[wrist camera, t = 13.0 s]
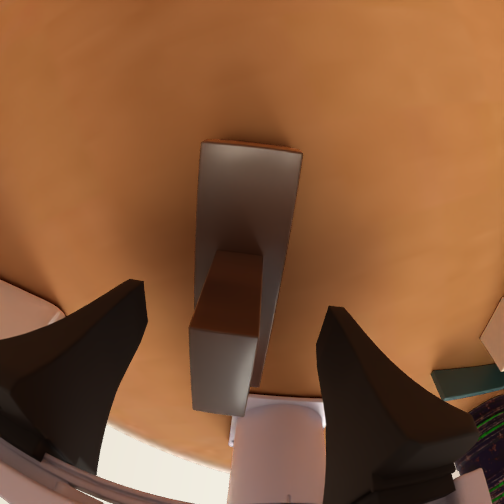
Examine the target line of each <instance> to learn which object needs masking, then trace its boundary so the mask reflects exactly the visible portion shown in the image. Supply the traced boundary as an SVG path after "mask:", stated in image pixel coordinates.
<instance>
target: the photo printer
mask: <svg viewBox="0 0 504 504" xmlns="http://www.w3.org/2000/svg"><path fill="white" fill-rule="evenodd" d="M64 317H66V316H65V315H64V313H63V312H62V311H61V310H60V309H59V308H58V307H56V306H55V305H53V304H51V303H49V302H47V301H45V300H43V299H41V298H39V297H37V296H35V295H32V294H30V293H28V292H26V291H24V290H22V289H20V288H17V287H15V286H13V285H11V284H9V283H7V282H4V281H2V280H0V340H1V339H6V338H10V337H14V336H18V335H21V334H25V333H28V332H31V331H33V330H36V329H39V328H41V327H44V326H47V325H49V324H52V323H54V322H56V321H58V320H60V319H62V318H64Z"/></svg>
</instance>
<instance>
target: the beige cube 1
mask: <svg viewBox="0 0 504 504" xmlns="http://www.w3.org/2000/svg"><path fill="white" fill-rule="evenodd" d="M480 340H481V341H482V343H483V344H484V346H485V347H486V349H487V350H488V352H489V353H490V355H491V357H492V358H493V360H494V361H495V363H496V365H497V366H498V368H499V370H500V371H501V372H504V297H502V298H501V300H500V302H499V304H498V306H497V308H496V310H495V312H494V314H493V316H492V317H491V319H490V321H489V323H488V325H487V326H486V328H485V330H484V332H483V333H482V335H481V337H480Z"/></svg>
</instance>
